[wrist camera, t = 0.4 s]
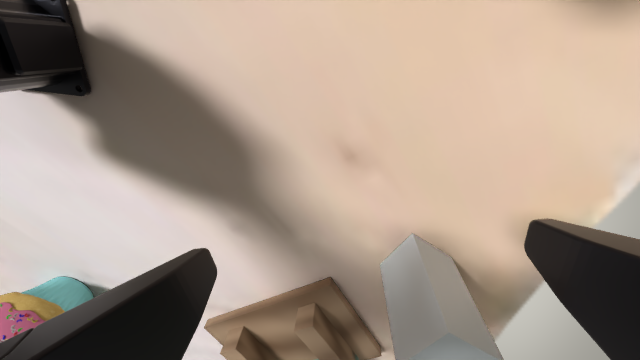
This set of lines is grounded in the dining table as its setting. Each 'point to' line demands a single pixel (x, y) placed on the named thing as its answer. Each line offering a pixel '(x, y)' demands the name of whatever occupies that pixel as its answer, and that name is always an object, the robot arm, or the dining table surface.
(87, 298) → the cupcake
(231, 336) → the brown wooden holder
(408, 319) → the block
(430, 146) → the dining table surface
